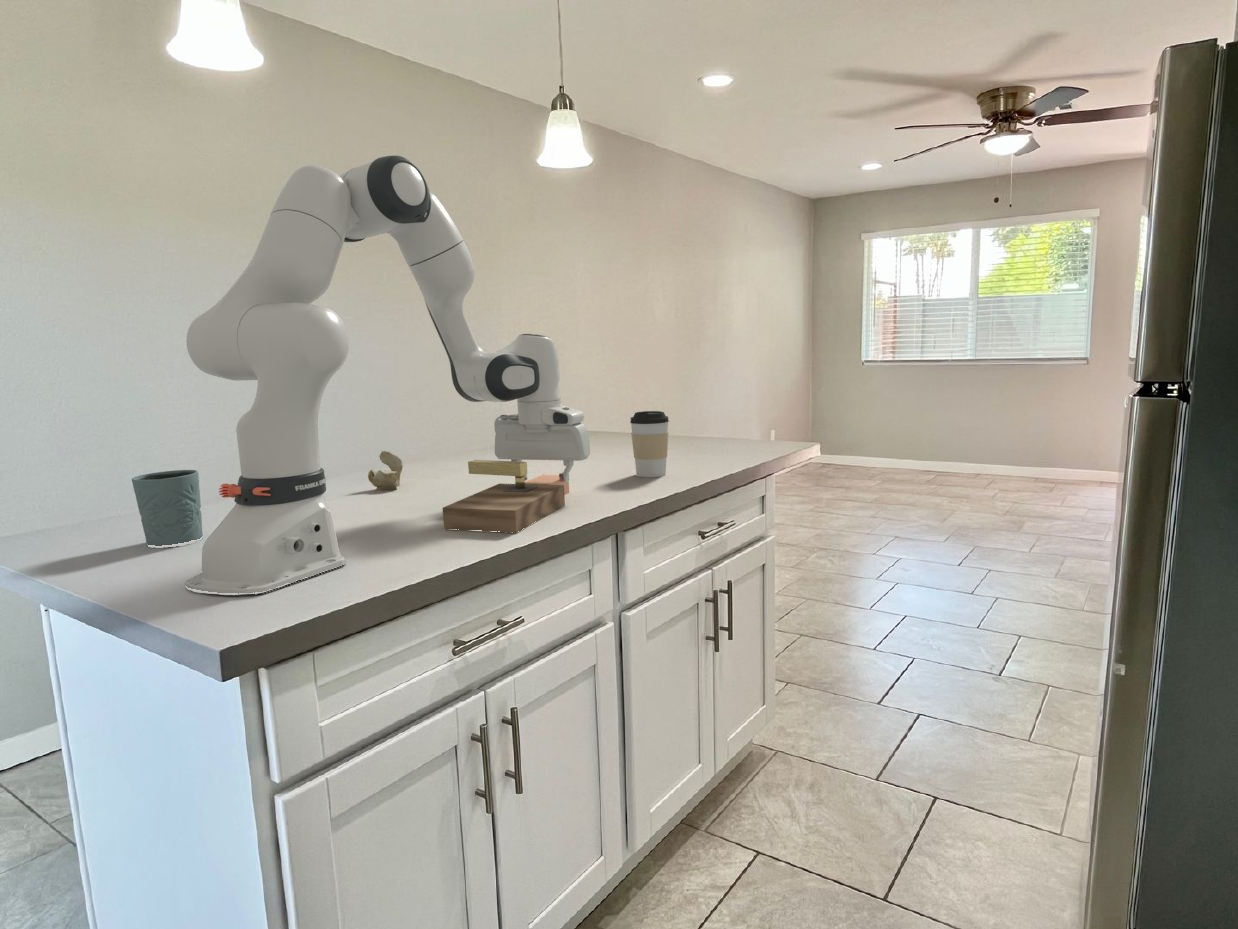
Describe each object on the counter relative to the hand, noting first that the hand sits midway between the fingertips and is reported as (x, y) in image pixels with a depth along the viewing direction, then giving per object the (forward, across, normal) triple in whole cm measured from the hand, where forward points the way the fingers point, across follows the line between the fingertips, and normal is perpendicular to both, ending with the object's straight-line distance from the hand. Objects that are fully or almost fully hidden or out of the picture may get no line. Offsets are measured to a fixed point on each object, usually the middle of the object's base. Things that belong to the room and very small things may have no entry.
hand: (543, 481), depth 162 cm
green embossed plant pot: (+4, -50, -45) cm, 68 cm away
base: (+4, 0, -18) cm, 18 cm away
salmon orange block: (+4, 0, 0) cm, 4 cm away
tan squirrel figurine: (+4, -40, +3) cm, 40 cm away
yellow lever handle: (-1, -5, -11) cm, 12 cm away
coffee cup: (+3, +15, +28) cm, 32 cm away
